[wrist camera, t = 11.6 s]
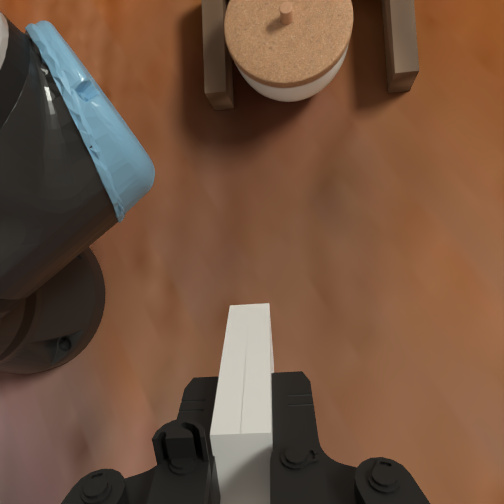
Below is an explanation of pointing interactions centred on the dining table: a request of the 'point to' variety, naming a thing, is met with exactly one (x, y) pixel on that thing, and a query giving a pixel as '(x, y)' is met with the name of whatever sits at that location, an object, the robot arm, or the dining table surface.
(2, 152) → the robot arm
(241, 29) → the lidded jar
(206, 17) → the u-shaped bracket
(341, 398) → the dining table surface
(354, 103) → the dining table surface
